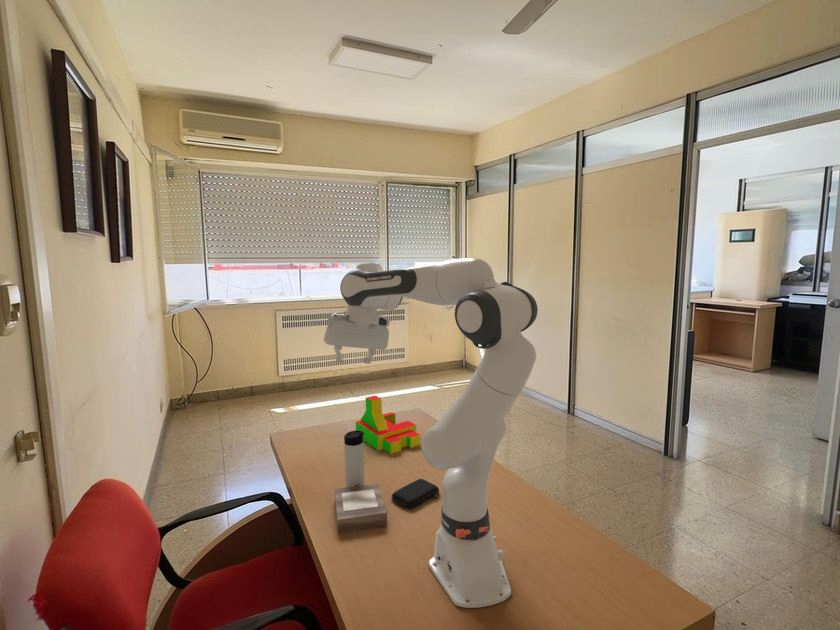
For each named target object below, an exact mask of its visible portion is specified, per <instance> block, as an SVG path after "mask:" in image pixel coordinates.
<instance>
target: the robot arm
mask: <svg viewBox="0 0 840 630" xmlns="http://www.w3.org/2000/svg"><path fill="white" fill-rule="evenodd" d="M339 288H340V290H339V291H340V294H341V296H342V298H343V300H344V302H346V304H347V307H346V313H345V314H342V313H340V314H339V313H333V314H331V315H329V316H328V318H327V326H326V329H325V333H324V337H323V341H324V343H325V344H326V345H329V346H334V347H333V348H334V352H335V354H336V357H335V358H336V359H335V361H336V362H341V363H343V362H344V355H342V353H341V350H342V349H343V347H347V348H356V349H367V350H368V354H367V355H366V356H364V357H363V363H364V364H368V365H369V364H371V362H372V359H373V357H374V356H375V354H376V351H377V350H378V351H385V350H386V349H387V348H388V345H389V337H390V332H389V328H388V327H389V326H390V320H389V319H388V318H385V317H384V316H382V315H380V314H378V310H383V311H384V310H385V311H391V310H395V309H397V308H398V307H399V306H400V304H401V303H402V301H403V298H407V299H411V300H415V301H418V302H422V303H427V304H431V305H436V306H455V308H454V320H455V324H456V325H457V327H458V329H459V331H460V332H461V333H462V335H463V336H465V337H466V338H467V339H468V340H470V341H471V342H472V344H473V346H475V348H478V349H482V350H485V351H484V354H483V356H482V358H481V360H480V362H479V363H478V365H477V367H476V368H475V371H474V372H473V374H472V376H471V377H470V380H469V381H468V384H467V385H466V386H465V388H464V389H463V392H461V394H460V395H459V396H458V398H457V399H456V400H454V401H453V403H452V404H451V405H450V407H449V408H448V409H447V410H446V411H445V412H444V413H443V414H442V417H440V418H439V419H438V421H436V422H435V423H434V424H433V425H432V426H431V427H430V428H429V429H428V430H426V432H425V433H424V434H423V436H422V439H421V443H420V446H421V452H422V455H423V457H424V459H425V460H426V462H427V463H428V464H429V465H430V466H431V467H432V468H434V469H435V470H438V471H445V470H447V471H446V473H445V474H444V477H443V479H442V480H443V481H442V505H441V510H440V523H441V525H440V526H439V529H438V530H436V533H435V536H434V537H435V538H434V541H435V542H434V555H433V557H432V558H430V559H429V561H428V568H429V569H430V571H431V572H432V574H433V575H434V576H435V578H436V580H438V582H439V584H440V585H441V587H442V588H443V589H444V592H446V595H447V596H448V597H449V598H450V600H451V601H452V603H453V604H454V605H455V606H457V607H460V608H466V609H467V608H468V609H473V608H474V609H477V608H483V607H490V606H493V605H496V604H500V603H502V602H504V601H506V600H507V599H509V598H510V596H511V595H512V588H511V585H510V582H509V579H508V576H507V572H506V570H505V567H504V564H503V561H504V560H505V554H504V551H503V550H502V549H498V548H497V547H496V543H497V542H498V541H497V540H498V538H497V535H493V531H492V525H491V523H490V522H491V521H490V514H489V509H488V506H487V505H488V489H489V488H488V486H489V479H490V474H491V471H492V467H493V466H492V465H493V463H494V459H495V456H496V453H497V450H498V448H499V445H500V444H501V442H502V440H503V439H504V438H505V435H506V433H507V425H506V421H505V419H504V418H505V417H506V416H507V414H508V413H509V411H510V410H511V408H512V406H513V405H514V404H515V402H516V400H517V399H518V397H519V396H520V394H521V392H522V391H523V389H524V387H525V386H526V383H527V382H528V379H529V377H530V375H531V373H532V371H533V368H534V365H535V362H536V358H537V352H536V349H535V347H534V346H535V345H534V344H532V342H531V341H529V340H528V339H527V338H526V337H525V336H524V335H523V333H522V332H524V331H526V330H527V329H529V328H531V326H532V325H533V324H534V322H535V321H536V319H537V317H538V311H539V310H538V303H537V302H536V299H535V298H534V296H533V295H532V294H531V293H529V292H528V291H526V290H524V289H522V288H520V287H518V286H515V285H514V284H511V283H509V282H507V281H503V282H501V283H498V282H497V281H496V279H495V275H494V272H493V269H492V267H491V266H490V264H489V263H488V262H487V261H485V260H484V259H481V258H478V257H477V258H476V257H475V258H473V257H462V258H461V257H459V258H458V257H457V258H452V259H445V260H441V261H436V262H432V263H428V264H427V263H426V264H423V265H417V266H411V267H407V268H406V267H405V268H401V269H388V270H384V269H383V267H382V266H381V265H380V264H378V263H375V262H361V263H359V264H357V265H356V267H355V268H353V269H351V270H350V271H348V272H347V273H346V274H345V275H344V277H342V280H340V286H339Z"/></svg>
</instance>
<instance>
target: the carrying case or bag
mask: <svg viewBox="0 0 840 630" xmlns="http://www.w3.org/2000/svg"><path fill="white" fill-rule="evenodd" d="M439 494H440V488H439V487H438V486H437V485H436V484H433V483H432V482H430V481H427V480H425V479H424V478H418V479H417V480H415V481H412V482H410V483H408V484H407V485H405V486H403V487H400V488H398V489H397V490H395V491H394V492H393V493H392V494H391V499H392V500H393V502H394V503H397V504H398V505H400V506H402V507H403V508H406V509H408V510H413V509H414V508H416V507H418V506H419V505H421V504H423V503H425V502H426V501H429V500H430V499H432V498H434V499H435V498H436V497H437V496H438V495H439Z"/></svg>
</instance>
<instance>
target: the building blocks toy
mask: <svg viewBox="0 0 840 630" xmlns="http://www.w3.org/2000/svg"><path fill="white" fill-rule="evenodd" d="M382 404H383V403H382V398H381V397H379V396H377V395H371V396H366V397H365V412H364V413H363V415H362V416H361V418H360V419H359V420H356V421H355V431H357V430H358V431H362V432H364V435H363V442H365V441H366V442H367V445H369V444H370V445H369V446H371V445H372V446H373V447H372V446H371V447H372V448H373V449H375V448H376V449H375V450H377V451H378V450H379V451H381V450H380V449H382V450H384V449H385V450H386V452H387V451H388V452H389V453H388V452H387V453H388V454H390V453H391V454H390V455H393V454H392V453H394V454H396V453H395V452H397V453H400V452H402V448H401V447H403V448H405V447H404V446H406V447H408V446H409V447H408V448H410V449H412V447H413V448H415V446H416V447H419V446H421V434H420V433H418V432H417V424H415V423H413V422H412V421H410V420H406V421H405V420H404V421H402V422H399V423H396V412H395V413H394V412H389V413H383V412H382V410H383V409H382V408H383V407H382ZM366 442H365V443H366ZM418 445H419V446H418ZM385 450H384V451H385ZM399 451H400V452H399Z"/></svg>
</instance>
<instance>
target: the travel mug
mask: <svg viewBox="0 0 840 630" xmlns="http://www.w3.org/2000/svg"><path fill="white" fill-rule="evenodd" d="M363 435H364V432H362V431H358V430H357V431H356V430H351V431H348V432H346V433H345V434H344V437H343V439H344V441H343V444H344V445H343V446H344V449H343V450H344V473H345V474H344V479H345V480H344V482H345V488H346V487H354V486H362V485H365V462H364V461H365V460H364V459H365V458H364V452H365V451H364V440H363Z"/></svg>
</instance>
